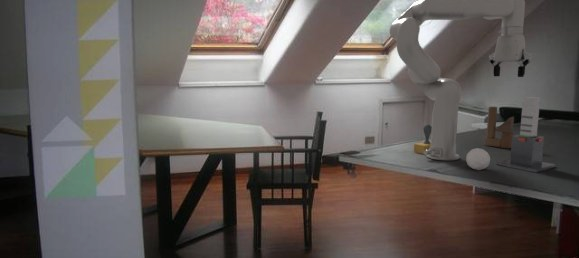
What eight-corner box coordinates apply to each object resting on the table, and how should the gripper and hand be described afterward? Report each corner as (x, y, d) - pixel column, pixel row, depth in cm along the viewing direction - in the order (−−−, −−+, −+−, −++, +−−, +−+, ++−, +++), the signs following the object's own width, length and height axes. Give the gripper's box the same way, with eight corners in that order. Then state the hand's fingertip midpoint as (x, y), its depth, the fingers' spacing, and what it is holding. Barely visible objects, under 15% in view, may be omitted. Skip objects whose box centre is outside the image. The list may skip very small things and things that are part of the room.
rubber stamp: (424, 154, 175) (425, 126, 173) (413, 152, 180) (414, 124, 178) (439, 151, 180) (441, 124, 178) (428, 149, 185) (429, 122, 183)
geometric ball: (477, 175, 152) (486, 156, 153) (488, 173, 144) (498, 153, 146) (458, 164, 153) (468, 146, 154) (468, 161, 145) (478, 142, 146)
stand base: (535, 172, 145) (538, 141, 143) (496, 164, 157) (499, 135, 155) (555, 166, 153) (558, 137, 151) (516, 159, 164) (519, 132, 163)
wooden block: (508, 148, 185) (512, 108, 183) (484, 145, 193) (486, 106, 190) (511, 147, 188) (515, 107, 185) (487, 144, 196) (490, 106, 193)
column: (529, 148, 151) (533, 98, 148) (518, 146, 154) (522, 97, 151) (536, 146, 153) (540, 97, 150) (525, 144, 156) (529, 96, 154)
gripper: (485, 33, 168) (482, 76, 171) (529, 30, 154) (525, 77, 156) (496, 34, 172) (493, 75, 175) (539, 31, 158) (535, 77, 160)
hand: (508, 76), depth 165 cm, fingers open, 9 cm apart
